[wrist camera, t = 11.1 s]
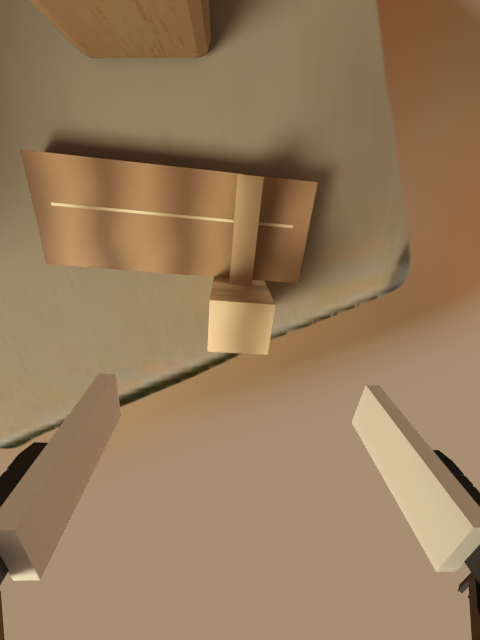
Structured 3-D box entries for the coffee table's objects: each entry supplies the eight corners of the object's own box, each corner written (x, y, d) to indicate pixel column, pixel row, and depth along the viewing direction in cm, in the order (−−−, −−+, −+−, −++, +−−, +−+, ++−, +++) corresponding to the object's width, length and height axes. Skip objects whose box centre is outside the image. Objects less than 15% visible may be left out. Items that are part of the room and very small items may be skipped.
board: (62, 258, 26) (46, 264, 24) (41, 154, 22) (20, 149, 20) (292, 276, 28) (298, 283, 25) (309, 184, 24) (317, 182, 22)
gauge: (213, 312, 29) (207, 355, 21) (219, 177, 23) (215, 164, 15) (256, 315, 30) (266, 358, 21) (273, 183, 24) (296, 173, 16)
